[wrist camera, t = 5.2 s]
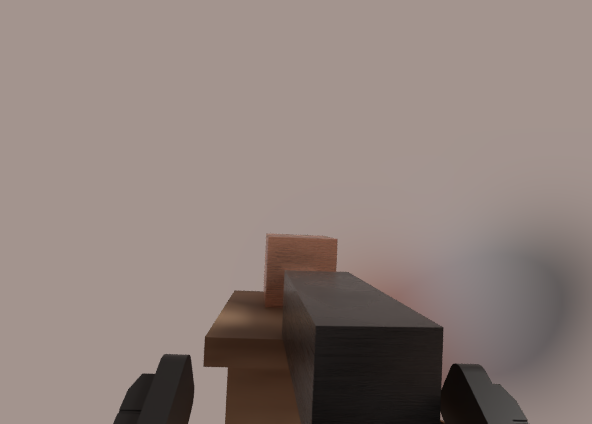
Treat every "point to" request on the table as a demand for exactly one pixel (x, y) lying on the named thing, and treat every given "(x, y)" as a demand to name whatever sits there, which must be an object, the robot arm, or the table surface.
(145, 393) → the robot arm
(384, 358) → the orange and black bar
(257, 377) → the walnut stand
